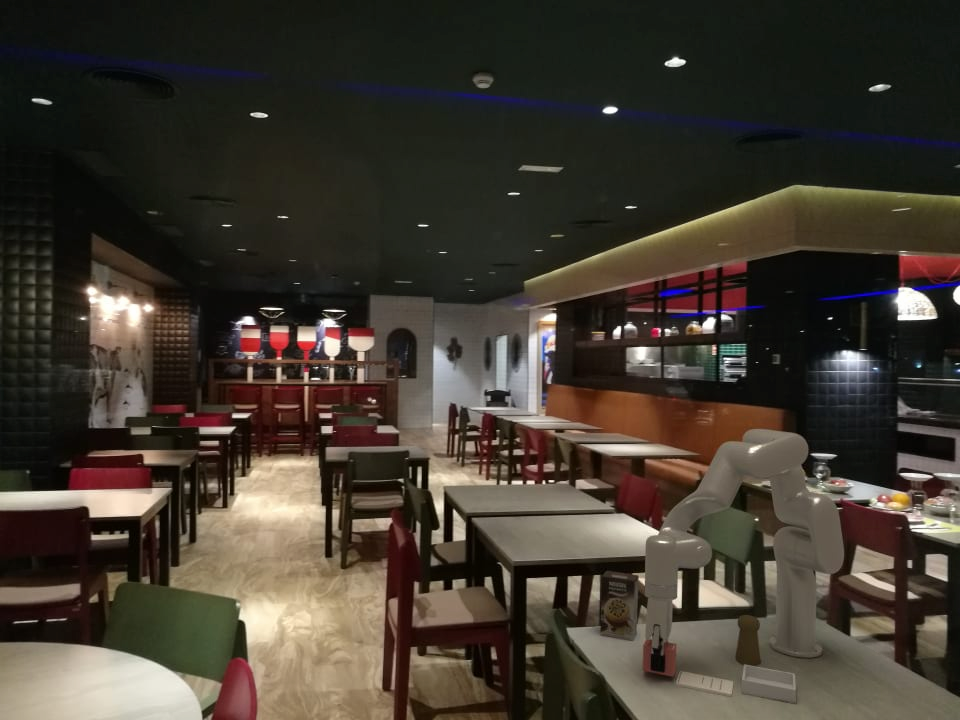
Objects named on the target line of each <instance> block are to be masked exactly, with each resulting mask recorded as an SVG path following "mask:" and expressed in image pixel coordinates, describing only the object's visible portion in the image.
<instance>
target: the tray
mask: <svg viewBox="0 0 960 720" xmlns="http://www.w3.org/2000/svg"><path fill="white" fill-rule="evenodd" d="M742 669H743V670H742V678H741V679H742V680H741V694H743V695H749V696H755V697H760V698H762V699H763V698H765V699H769V700H774V701H779V702H784V703H788V704H789V703H790V704H794V705H796V698H797V697H796V696H797V688H796V687H797V685H796V673H793V672H787V671H782V670H777V669H770V668H767V667H762V666H761V667H760V666H750V665H745V664H743V668H742Z"/></svg>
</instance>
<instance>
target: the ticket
mask: <svg viewBox="0 0 960 720" xmlns="http://www.w3.org/2000/svg"><path fill="white" fill-rule="evenodd" d="M675 686H676V687H680V688H685V689H690V690H691V689H692V690H695V691H701V692H705V693H709V694H710V693H711V694H715V695H719V696H720V695H721V696H724V697H730V698H732V696H733V691H734V690H733V689H734V681H733V680H728V679H724V678H719V677H718V678H717V677H713V676H708V675H703V674H697V673H692V672H687V671H683V670H680V671H679V673H678V676H677V679H676V681H675Z"/></svg>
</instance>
